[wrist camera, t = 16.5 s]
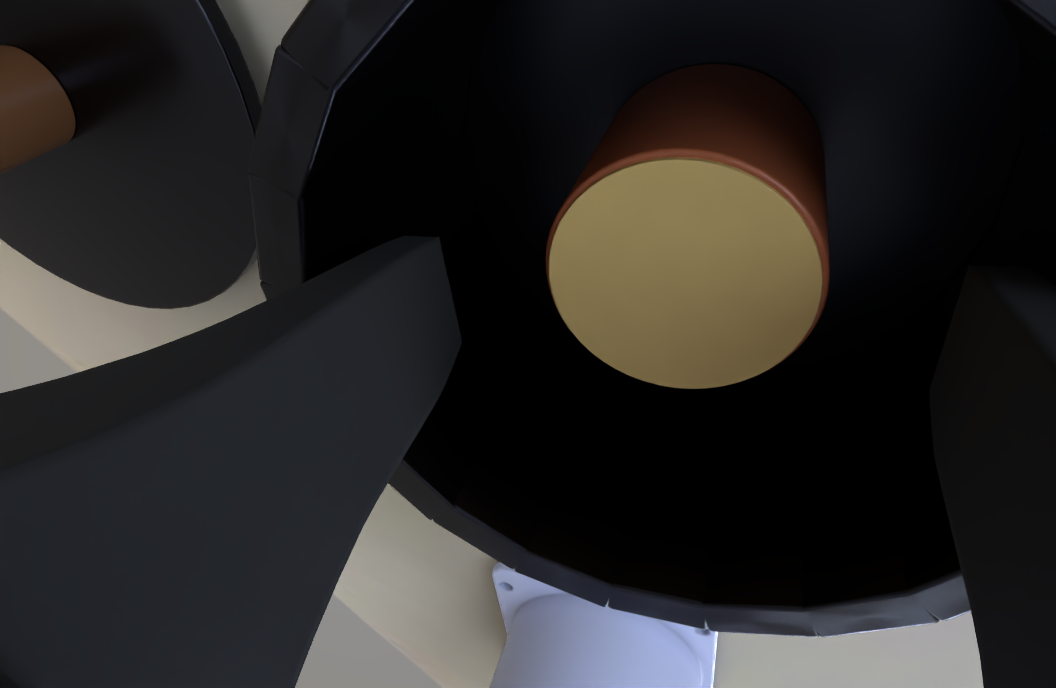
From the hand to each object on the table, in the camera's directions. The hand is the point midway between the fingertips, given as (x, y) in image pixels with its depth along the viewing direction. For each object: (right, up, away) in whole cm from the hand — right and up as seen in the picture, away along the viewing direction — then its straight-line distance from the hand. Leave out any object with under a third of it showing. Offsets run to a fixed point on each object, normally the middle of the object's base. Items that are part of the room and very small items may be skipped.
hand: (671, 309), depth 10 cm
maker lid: (-14, +6, +7) cm, 17 cm away
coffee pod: (+1, +3, +3) cm, 5 cm away
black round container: (+2, +3, +4) cm, 5 cm away
